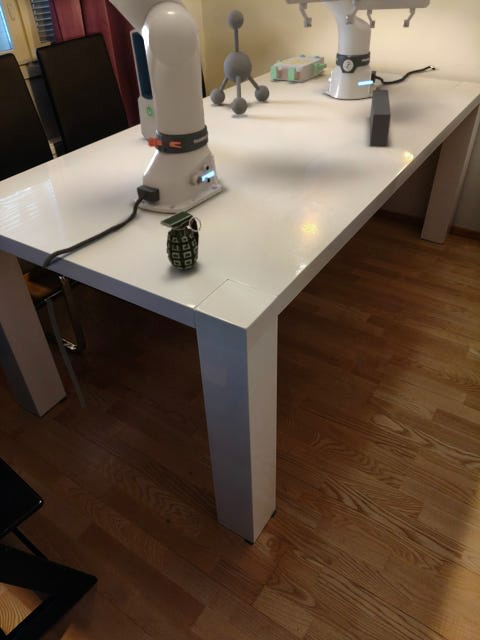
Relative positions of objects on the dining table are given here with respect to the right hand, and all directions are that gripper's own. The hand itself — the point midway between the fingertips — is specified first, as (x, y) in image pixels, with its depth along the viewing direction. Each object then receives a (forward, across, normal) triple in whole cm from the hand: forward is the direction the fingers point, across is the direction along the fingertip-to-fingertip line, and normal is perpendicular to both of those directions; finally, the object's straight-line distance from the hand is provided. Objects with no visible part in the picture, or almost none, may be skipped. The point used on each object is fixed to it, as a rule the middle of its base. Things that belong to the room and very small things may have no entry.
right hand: (388, 27), depth 140 cm
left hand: (-6, +15, +41) cm, 44 cm away
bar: (+26, 0, +10) cm, 28 cm away
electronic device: (+26, +65, +20) cm, 73 cm away
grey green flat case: (+26, +33, -65) cm, 78 cm away
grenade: (+26, +36, +93) cm, 103 cm away
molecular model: (+26, +47, -17) cm, 56 cm away
